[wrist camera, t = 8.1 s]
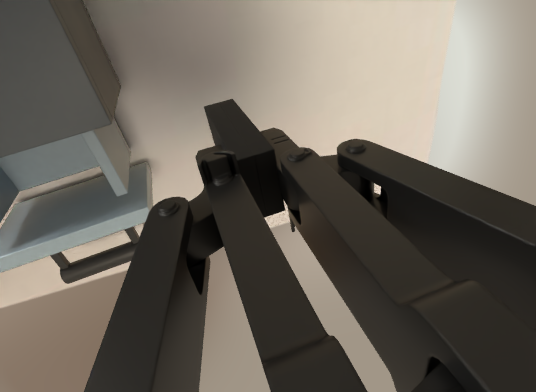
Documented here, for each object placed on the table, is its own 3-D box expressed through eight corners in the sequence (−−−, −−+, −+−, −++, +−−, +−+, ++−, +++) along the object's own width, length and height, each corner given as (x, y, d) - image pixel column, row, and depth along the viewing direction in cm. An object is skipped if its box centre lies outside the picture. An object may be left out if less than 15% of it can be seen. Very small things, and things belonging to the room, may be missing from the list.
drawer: (171, 213, 34) (177, 264, 27) (55, 253, 32) (33, 319, 26) (75, 10, 23) (49, 17, 17) (-106, 54, 21) (-213, 81, 15)
